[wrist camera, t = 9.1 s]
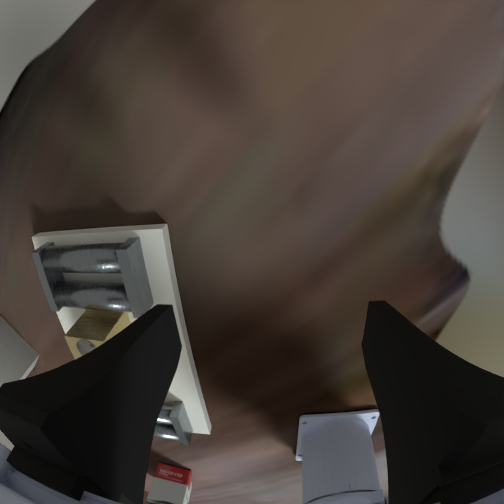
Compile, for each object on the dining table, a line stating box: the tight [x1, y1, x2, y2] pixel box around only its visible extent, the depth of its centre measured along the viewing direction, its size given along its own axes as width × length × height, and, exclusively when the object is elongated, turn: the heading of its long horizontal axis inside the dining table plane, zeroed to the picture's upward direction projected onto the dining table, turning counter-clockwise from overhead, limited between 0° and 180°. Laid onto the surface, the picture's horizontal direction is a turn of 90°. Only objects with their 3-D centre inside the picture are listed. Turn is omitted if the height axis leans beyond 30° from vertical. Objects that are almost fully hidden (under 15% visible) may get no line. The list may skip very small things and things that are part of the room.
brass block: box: [64, 309, 131, 359], centre depth 22 cm, size 9×4×4 cm, turn 3°
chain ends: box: [32, 237, 193, 445], centre depth 23 cm, size 21×9×2 cm, turn 3°
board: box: [32, 224, 211, 434], centre depth 24 cm, size 22×12×1 cm, turn 3°
